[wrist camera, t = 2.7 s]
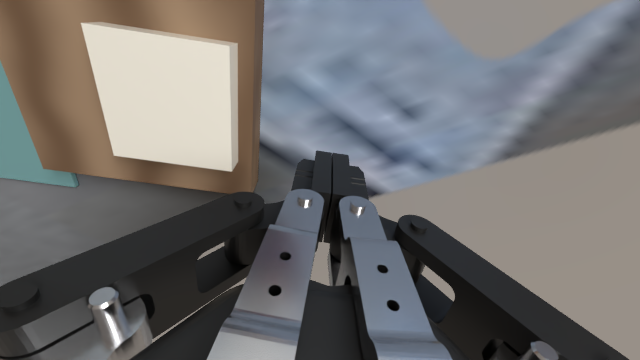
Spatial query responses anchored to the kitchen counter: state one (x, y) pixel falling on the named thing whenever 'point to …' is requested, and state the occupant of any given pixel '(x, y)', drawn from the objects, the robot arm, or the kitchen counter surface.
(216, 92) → the tile
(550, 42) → the kitchen counter surface
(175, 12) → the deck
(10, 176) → the mat
